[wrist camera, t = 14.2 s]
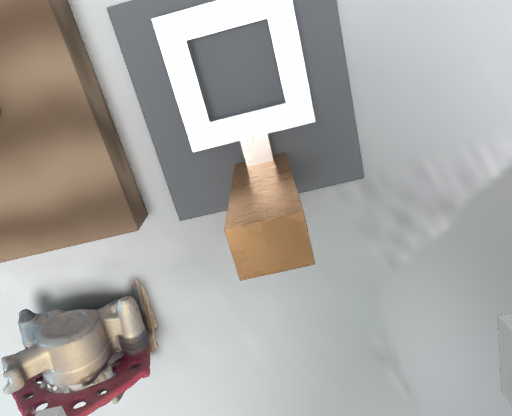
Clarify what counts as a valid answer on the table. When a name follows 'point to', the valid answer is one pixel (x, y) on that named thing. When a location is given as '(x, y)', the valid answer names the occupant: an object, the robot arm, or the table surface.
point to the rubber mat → (242, 100)
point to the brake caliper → (81, 355)
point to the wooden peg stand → (56, 138)
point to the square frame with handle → (248, 132)
